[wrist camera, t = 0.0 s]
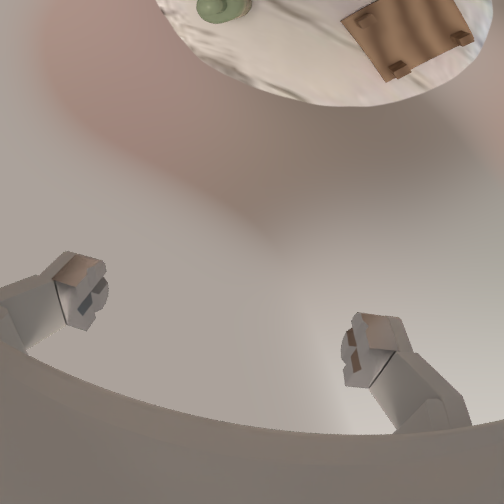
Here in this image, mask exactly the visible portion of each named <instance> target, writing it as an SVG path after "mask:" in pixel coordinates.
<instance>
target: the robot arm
mask: <svg viewBox="0 0 504 504" xmlns="http://www.w3.org/2000/svg"><path fill="white" fill-rule="evenodd" d="M105 273H106V266H105V263H104V262H103V261H102V260H98V259H95V258H92V257H88V256H84V255H81V254H77V253H73V252H69V251H66V252H63V253H62V254H61V255H60V256H59V257H58V258H57V259H56V260H55V261H54V262H53V263H52V264H51V265H50V266H48V267H47V268H46V269H45V270H44V271H43V272H42V273H41V274H40V275H34V276H31V277H28V278H25V279H23V280H20V281H17V282H15V283H12V284H9V285H7V286H4V287H1V288H0V504H504V419H503V420H499V421H495V422H490V423H485V424H480V425H474V426H472V423H471V420H470V417H469V413H468V410H467V408H466V405H465V402H464V399H463V396H462V395H461V394H460V393H459V392H458V391H457V390H456V389H454V388H453V387H452V386H451V385H450V384H449V383H448V382H447V381H446V380H445V379H444V378H443V377H442V376H441V375H440V374H439V373H438V372H437V371H436V370H435V369H434V368H433V367H431V365H429V364H428V363H427V362H426V361H425V360H424V359H423V358H422V357H421V356H420V355H419V354H418V353H414V352H413V349H412V347H411V344H410V342H409V339H408V336H407V333H406V331H405V328H404V325H403V323H402V320H401V319H400V318H399V317H393V316H381V315H374V314H367V313H360V312H357V313H356V314H355V315H354V317H353V319H352V321H351V322H352V328H351V329H349V330H348V331H346V333H345V336H344V338H343V341H342V345H341V358H342V360H343V361H344V362H345V363H346V366H345V367H344V369H343V372H344V380H345V386H349V387H359V388H369V390H370V392H371V394H372V395H373V396H374V398H375V399H376V401H377V402H378V403H379V405H380V406H381V408H382V409H383V411H384V412H385V413H386V415H387V416H388V418H389V419H390V421H391V422H392V423H393V425H394V426H395V428H396V429H397V430H396V431H395V432H394V433H393V434H386V435H342V434H340V435H339V434H319V433H305V432H294V431H283V430H275V429H267V428H260V427H253V426H246V425H240V424H235V423H229V422H224V421H218V420H213V419H208V418H204V417H199V416H195V415H191V414H186V413H182V412H179V411H175V410H171V409H167V408H164V407H160V406H156V405H153V404H149V403H146V402H143V401H140V400H136V399H133V398H130V397H127V396H124V395H121V394H119V393H115V392H112V391H110V390H107V389H104V388H102V387H99V386H96V385H94V384H91V383H89V382H86V381H84V380H81V379H79V378H76V377H74V376H72V375H69V374H67V373H65V372H63V371H60V370H58V369H55V368H54V367H52V366H49V365H47V364H45V363H43V362H41V361H39V360H37V359H35V358H33V357H31V356H29V355H28V353H27V352H26V350H27V349H29V348H31V347H32V346H34V345H36V344H37V343H39V342H40V341H42V340H43V339H45V338H47V337H49V336H50V335H52V334H53V333H55V332H57V331H58V330H60V329H62V328H63V327H65V326H66V325H69V326H72V327H75V328H78V329H81V330H84V331H87V330H88V329H89V327H90V326H91V324H92V323H93V321H94V320H95V318H96V317H95V312H97V311H99V310H101V309H102V308H103V306H104V305H105V304H106V300H107V297H108V289H109V288H108V282H107V281H106V280H105V278H104V277H103V276H104V274H105Z"/></svg>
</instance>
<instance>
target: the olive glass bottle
mask: <svg viewBox="0 0 504 504" xmlns="http://www.w3.org/2000/svg"><path fill="white" fill-rule="evenodd" d="M251 6H252V1H251V0H198V1H197V6H196V8H197V11H198V14H199V15H200V17H201V18H202V19H204V20H205V21H207V22H209V23H214V24H219V23H224V22H227V21H230V20H233V19H236V18H240V17H242V16H244V15H246V14H247V13H248V12H249V10H250V9H251Z"/></svg>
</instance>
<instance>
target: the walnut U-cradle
mask: <svg viewBox="0 0 504 504" xmlns="http://www.w3.org/2000/svg"><path fill="white" fill-rule="evenodd" d="M341 22H342V24H343V25H344V26H345V27H346V29H347V30H348V31H349V32H350V34H351V35H352V36H353V37H354V39H355V40H356V41H357V43H358V44H359V45H360V46H361V48H362V49H363V51H364V52H365V53H366V55H367V56H368V57H369V59H370V60H371V62H372V63H373V64H374V66H375V67H376V69H377V70H378V72H379V73H380V75H381V76H382V78H383V79H384V81H385V82H386V83H387V82H388V81H390V80H392V79H394V78H397V79H400V78H401V77H403V76H405V75H407V74H409V73H411V69H413V68H414V67H416V66H418V65H420V64H422V63H424V62H426V61H428V60H430V59H432V58H434V57H436V56H438V55H440V54H442V53H444V52H446V51H448V50H450V49H452V48H455V47H457V46H459V45H460V46H465V45H467V44H470V43H472V42H474V37H473V35H472V33H471V31H470V29H469V27H468V25H467V23H466V22H465V20H464V18H463V16H462V14H461V13H460V11H459V9H458V7H457V6H456V4H455V2H454V1H453V0H377V1H375V2H373V3H372V4H370V5H368V6H366V7H364V8H362V9H361V10H359V11H357V12H355V13H354V14H352V15H350V16H348V17H347V18H345V19H343V20H342V21H341Z"/></svg>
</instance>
